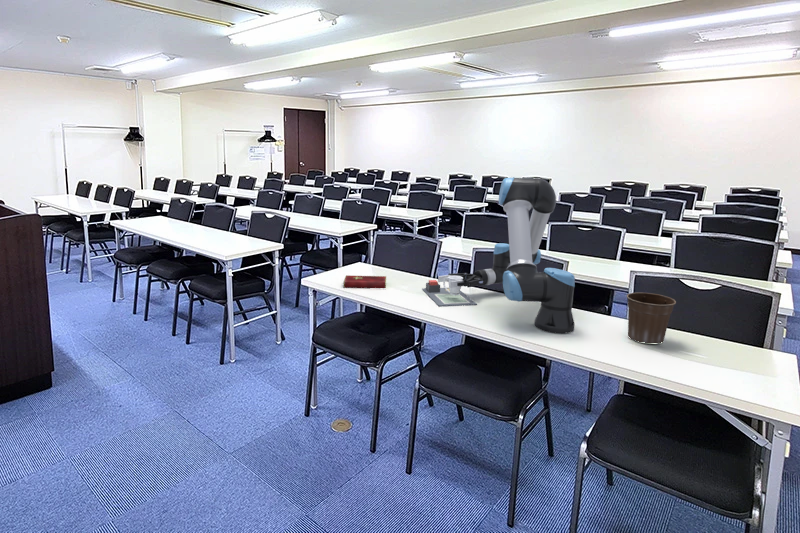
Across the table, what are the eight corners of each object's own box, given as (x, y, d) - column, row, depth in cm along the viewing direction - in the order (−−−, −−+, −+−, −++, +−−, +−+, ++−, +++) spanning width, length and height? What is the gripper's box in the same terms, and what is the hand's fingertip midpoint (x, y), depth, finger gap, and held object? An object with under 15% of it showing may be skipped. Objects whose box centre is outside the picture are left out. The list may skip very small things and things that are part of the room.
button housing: (439, 292, 233) (440, 285, 232) (428, 292, 232) (429, 285, 231) (436, 289, 238) (436, 282, 237) (425, 289, 237) (426, 282, 236)
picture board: (476, 305, 216) (477, 303, 216) (438, 306, 212) (438, 304, 212) (456, 288, 243) (456, 286, 243) (422, 289, 239) (422, 288, 239)
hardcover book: (385, 289, 238) (386, 281, 237) (343, 288, 238) (343, 280, 237) (386, 283, 250) (386, 275, 249) (345, 282, 249) (345, 274, 248)
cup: (456, 297, 216) (457, 280, 215) (438, 292, 223) (439, 275, 221) (465, 294, 221) (466, 277, 220) (447, 289, 228) (448, 273, 226)
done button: (437, 287, 233) (437, 281, 232) (430, 288, 232) (430, 282, 232) (435, 285, 236) (435, 280, 236) (428, 286, 236) (428, 280, 235)
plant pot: (625, 344, 175) (631, 301, 171) (617, 329, 190) (623, 290, 186) (674, 349, 171) (681, 306, 167) (663, 334, 186) (669, 294, 182)
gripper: (498, 290, 220) (457, 296, 210) (469, 279, 239) (431, 283, 229) (499, 275, 219) (458, 279, 208) (470, 264, 238) (432, 268, 227)
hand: (444, 281), depth 219 cm, fingers closed on cup, 9 cm apart
